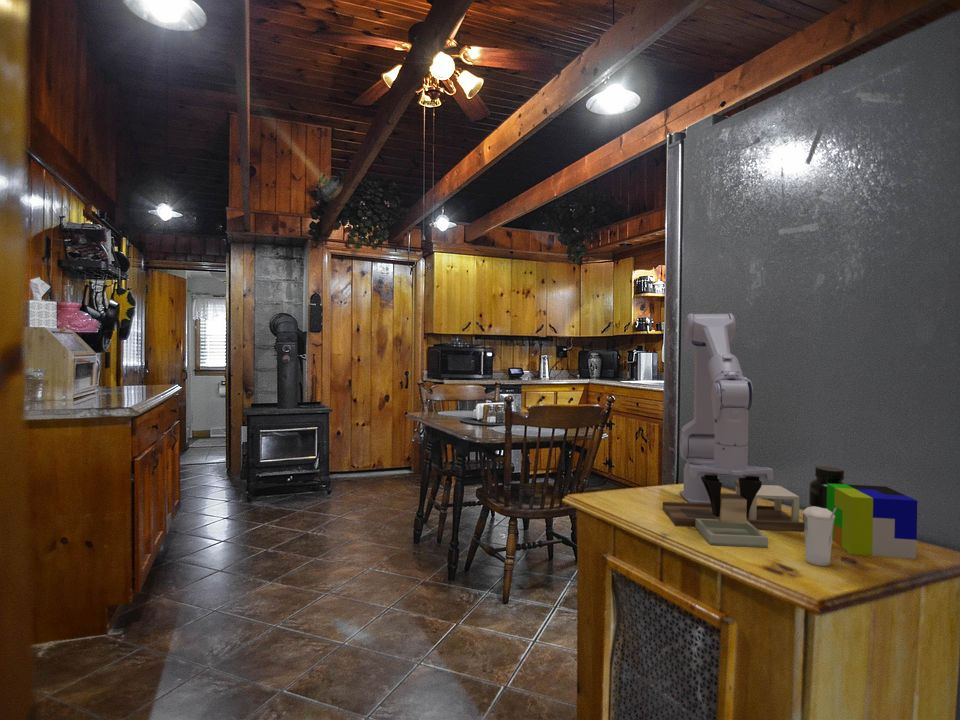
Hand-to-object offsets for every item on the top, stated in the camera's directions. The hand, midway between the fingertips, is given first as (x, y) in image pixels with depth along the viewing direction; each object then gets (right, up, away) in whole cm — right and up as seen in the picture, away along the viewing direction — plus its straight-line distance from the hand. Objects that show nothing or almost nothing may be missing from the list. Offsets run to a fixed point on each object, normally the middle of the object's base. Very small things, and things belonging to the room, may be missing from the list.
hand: (729, 515), depth 102 cm
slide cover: (+12, -3, +10) cm, 16 cm away
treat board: (+5, -4, +11) cm, 13 cm away
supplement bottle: (+22, -4, +6) cm, 23 cm away
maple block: (0, -1, 0) cm, 1 cm away
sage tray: (0, -4, 0) cm, 4 cm away
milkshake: (+9, -5, -13) cm, 16 cm away
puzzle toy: (+23, -5, -4) cm, 24 cm away
